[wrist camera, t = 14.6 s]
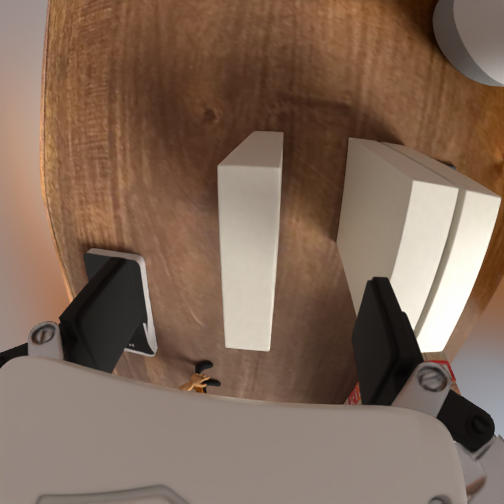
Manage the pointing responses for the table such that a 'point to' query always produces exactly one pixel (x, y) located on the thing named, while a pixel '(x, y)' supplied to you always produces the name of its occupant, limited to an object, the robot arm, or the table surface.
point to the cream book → (250, 238)
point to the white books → (414, 233)
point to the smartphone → (145, 332)
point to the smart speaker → (472, 37)
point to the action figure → (200, 379)
